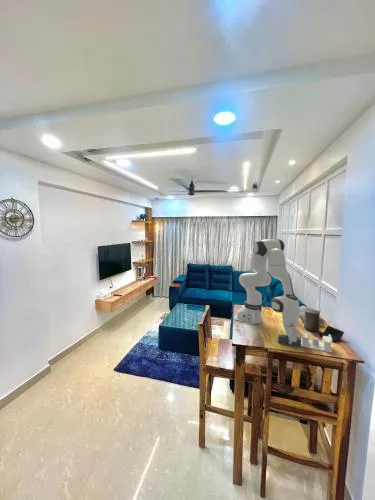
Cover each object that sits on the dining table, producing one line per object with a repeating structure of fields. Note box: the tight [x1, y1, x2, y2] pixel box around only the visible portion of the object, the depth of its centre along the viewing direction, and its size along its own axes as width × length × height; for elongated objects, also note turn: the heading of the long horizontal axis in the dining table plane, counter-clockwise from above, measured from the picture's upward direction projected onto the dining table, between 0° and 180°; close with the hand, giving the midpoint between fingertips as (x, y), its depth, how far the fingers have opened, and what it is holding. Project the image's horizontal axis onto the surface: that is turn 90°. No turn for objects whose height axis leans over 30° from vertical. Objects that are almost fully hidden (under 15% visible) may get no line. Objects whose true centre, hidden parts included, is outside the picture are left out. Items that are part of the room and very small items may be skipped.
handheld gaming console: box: [318, 325, 345, 342], centre depth 148 cm, size 11×10×4 cm
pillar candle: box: [303, 308, 321, 333], centre depth 161 cm, size 10×10×15 cm
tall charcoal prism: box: [277, 333, 302, 348], centre depth 138 cm, size 13×3×5 cm, turn 67°
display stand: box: [300, 329, 333, 354], centre depth 136 cm, size 17×10×8 cm, turn 65°
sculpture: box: [298, 305, 327, 327], centre depth 181 cm, size 25×19×10 cm
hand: (289, 341), depth 138 cm, fingers closed on tall charcoal prism, 3 cm apart
